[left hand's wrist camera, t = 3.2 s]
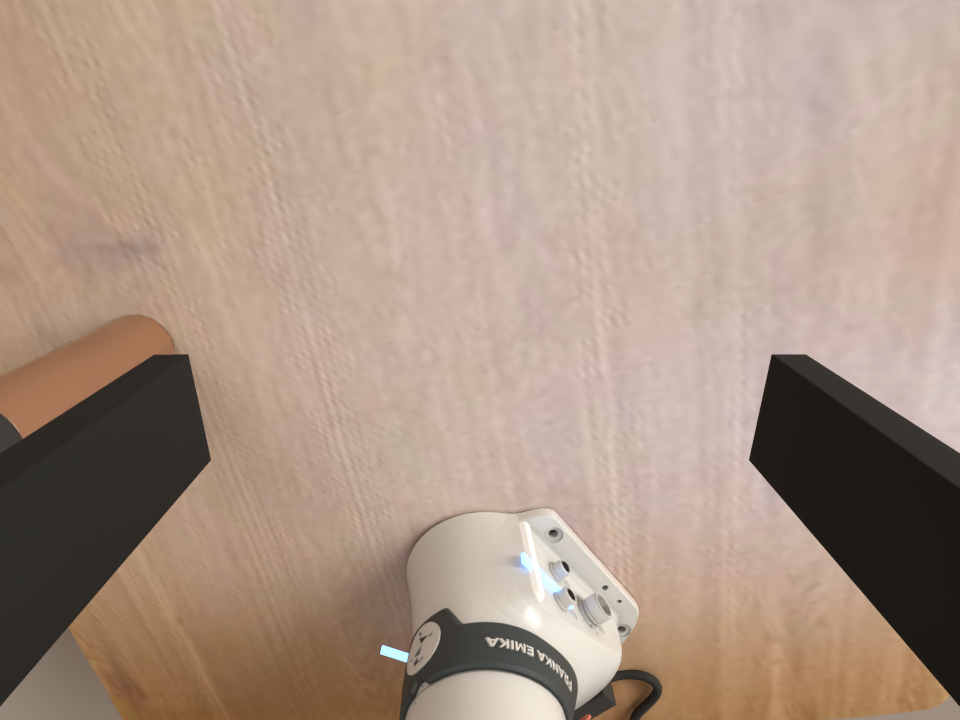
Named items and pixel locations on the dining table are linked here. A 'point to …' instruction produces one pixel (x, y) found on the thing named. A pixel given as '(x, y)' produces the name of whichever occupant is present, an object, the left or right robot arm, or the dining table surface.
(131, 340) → the jar
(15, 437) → the lid
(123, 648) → the dining table surface
